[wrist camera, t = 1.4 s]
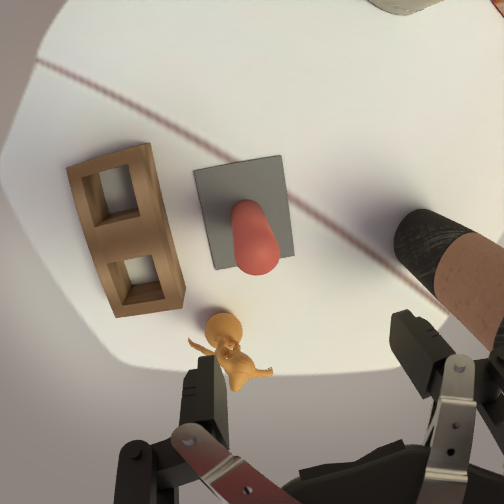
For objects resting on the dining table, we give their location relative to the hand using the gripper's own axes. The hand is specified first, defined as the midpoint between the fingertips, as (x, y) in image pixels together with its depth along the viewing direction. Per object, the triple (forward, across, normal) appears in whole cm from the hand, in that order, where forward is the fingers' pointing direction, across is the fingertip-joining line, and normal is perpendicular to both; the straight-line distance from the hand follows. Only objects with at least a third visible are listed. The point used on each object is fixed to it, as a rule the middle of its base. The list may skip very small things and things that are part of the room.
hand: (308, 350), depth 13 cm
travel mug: (+19, -18, +5) cm, 26 cm away
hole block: (+18, +12, -2) cm, 22 cm away
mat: (+18, +1, -1) cm, 19 cm away
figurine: (+19, +5, +9) cm, 22 cm away
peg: (+18, +1, -1) cm, 18 cm away
